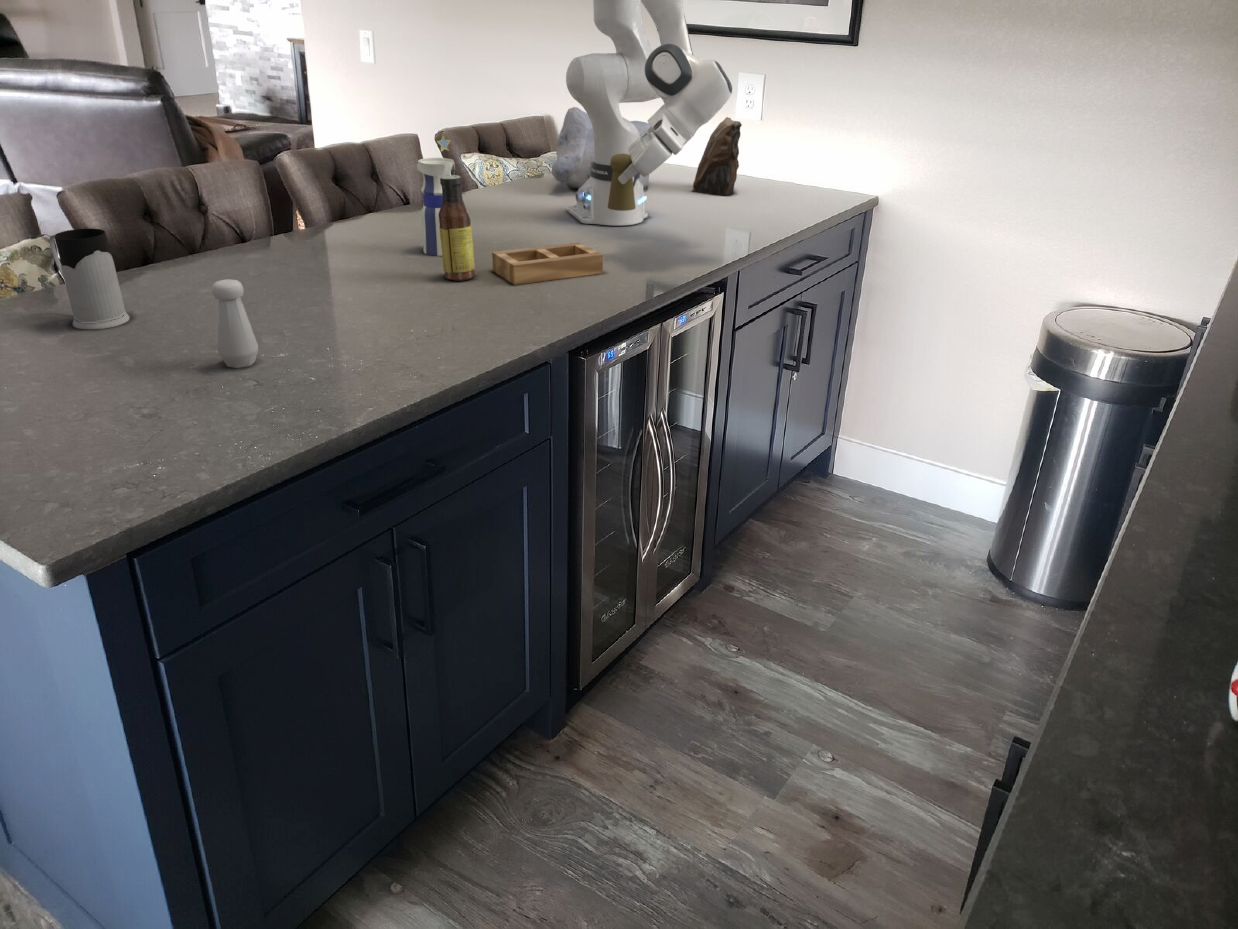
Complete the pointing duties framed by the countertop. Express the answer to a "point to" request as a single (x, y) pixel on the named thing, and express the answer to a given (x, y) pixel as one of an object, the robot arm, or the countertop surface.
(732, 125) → the rock
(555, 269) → the socket block
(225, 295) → the salt shaker
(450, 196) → the sauce bottle
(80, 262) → the glass holder
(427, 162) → the blue tall piece
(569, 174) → the rock
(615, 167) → the olive green game pawn
